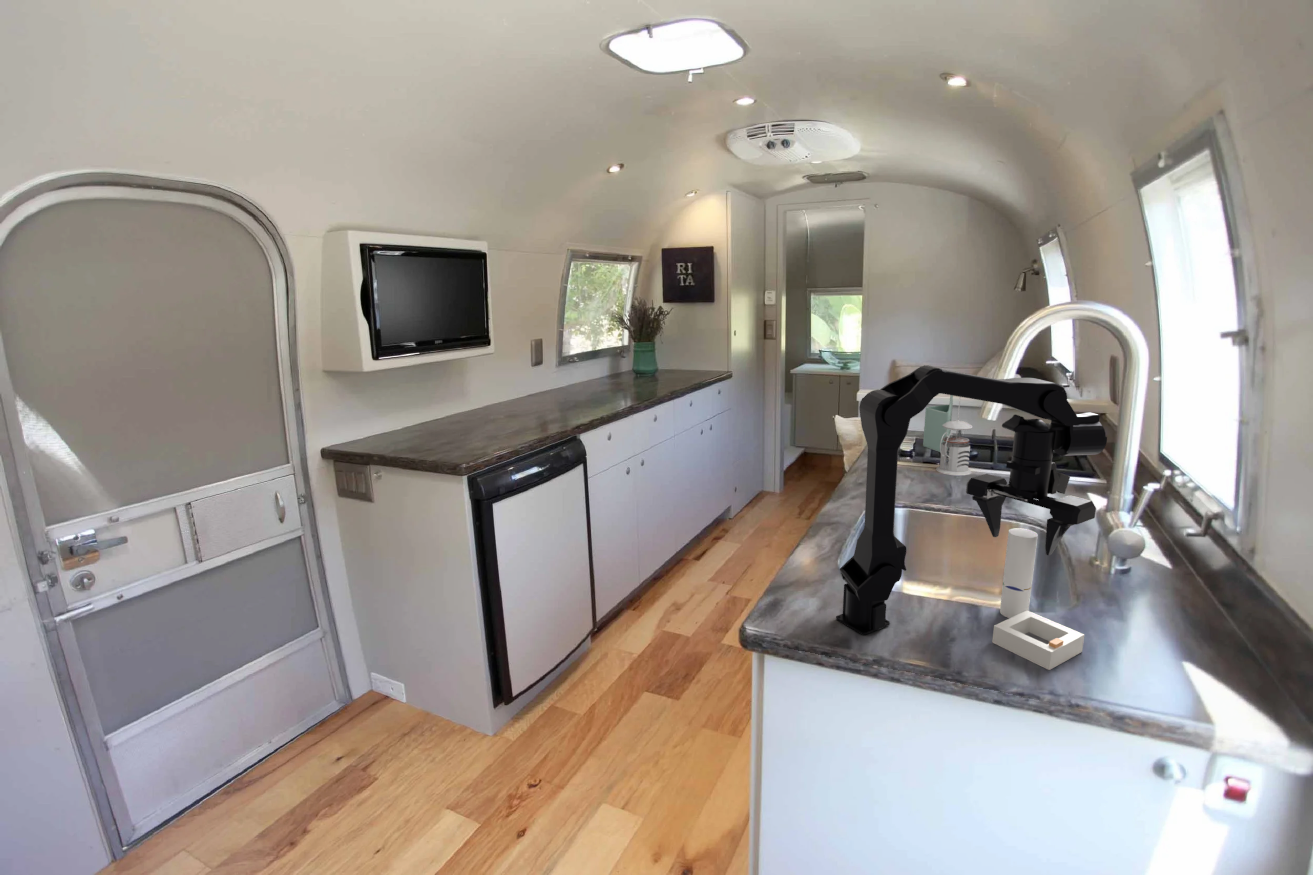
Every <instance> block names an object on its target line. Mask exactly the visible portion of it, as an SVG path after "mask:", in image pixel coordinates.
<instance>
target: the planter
mask: <svg viewBox="0 0 1313 875" xmlns="http://www.w3.org/2000/svg"><path fill="white" fill-rule="evenodd" d="M949 396H950V398H949V404H941V405H934V406H926V407H925V414H924V427H923V441H922V446H923V447H924V448H927V449H930V450H933V451H935V452H938V453H941V452H940V442H941V446H942V442H946V441H944V440H943V439H942V436H943V435H944V433H945V432H947V436H949V435H950V434H951V430H950V429H946V428H944V427H943V424H945V423H947V422H949V421H952V420H953V419H952V417H953V404H954V403H953V402H954V396H953V395H949ZM947 436H946V434H945V435H944V436H943V438H944V437H947ZM950 436H951V435H950ZM941 439H942V441H941ZM941 449H942V448H941ZM947 450H949V448H948V447H947ZM941 451H942V450H941Z"/></svg>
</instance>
